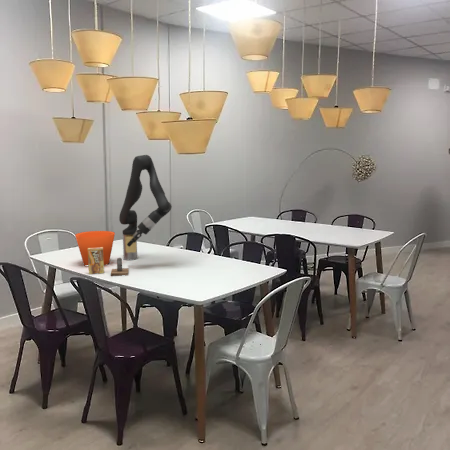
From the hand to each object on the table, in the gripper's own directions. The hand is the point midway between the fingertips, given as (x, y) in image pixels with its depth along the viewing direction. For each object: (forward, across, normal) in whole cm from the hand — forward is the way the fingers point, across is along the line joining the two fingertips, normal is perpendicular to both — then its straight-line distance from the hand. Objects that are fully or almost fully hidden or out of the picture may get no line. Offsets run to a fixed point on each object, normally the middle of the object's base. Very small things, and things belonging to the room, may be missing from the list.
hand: (128, 244), depth 303 cm
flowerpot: (+26, -17, -4) cm, 31 cm away
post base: (+14, +12, +7) cm, 20 cm away
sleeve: (+2, 0, +4) cm, 5 cm away
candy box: (+24, +9, -3) cm, 26 cm away
